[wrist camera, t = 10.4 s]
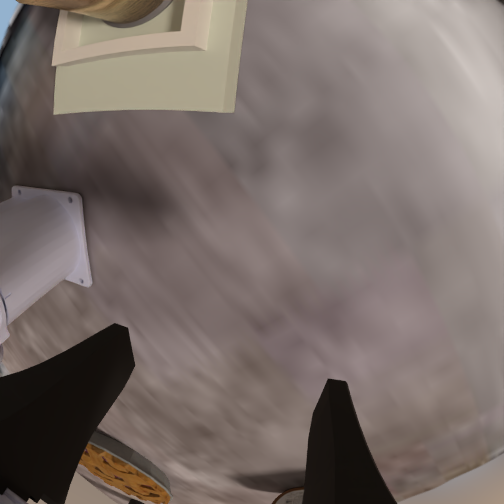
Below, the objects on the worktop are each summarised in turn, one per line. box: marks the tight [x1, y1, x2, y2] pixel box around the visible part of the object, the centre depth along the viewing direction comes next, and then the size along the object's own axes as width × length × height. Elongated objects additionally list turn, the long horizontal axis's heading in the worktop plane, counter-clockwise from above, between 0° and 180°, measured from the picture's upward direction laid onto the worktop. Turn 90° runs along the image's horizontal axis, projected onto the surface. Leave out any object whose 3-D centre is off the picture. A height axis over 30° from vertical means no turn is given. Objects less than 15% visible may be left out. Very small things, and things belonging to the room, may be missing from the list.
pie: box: [79, 431, 173, 504], centre depth 40 cm, size 22×22×5 cm
